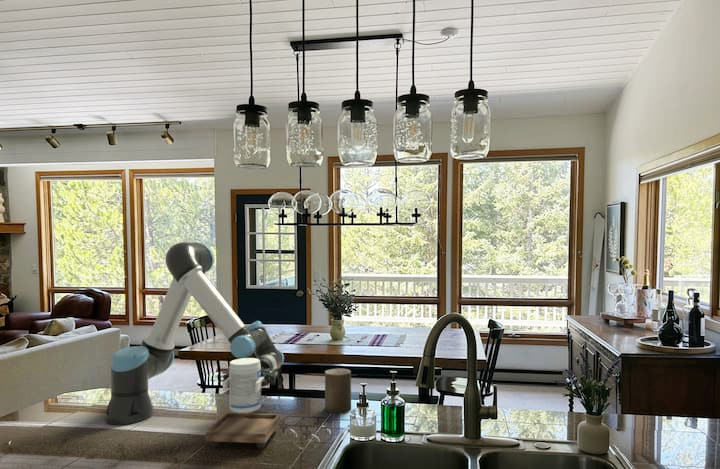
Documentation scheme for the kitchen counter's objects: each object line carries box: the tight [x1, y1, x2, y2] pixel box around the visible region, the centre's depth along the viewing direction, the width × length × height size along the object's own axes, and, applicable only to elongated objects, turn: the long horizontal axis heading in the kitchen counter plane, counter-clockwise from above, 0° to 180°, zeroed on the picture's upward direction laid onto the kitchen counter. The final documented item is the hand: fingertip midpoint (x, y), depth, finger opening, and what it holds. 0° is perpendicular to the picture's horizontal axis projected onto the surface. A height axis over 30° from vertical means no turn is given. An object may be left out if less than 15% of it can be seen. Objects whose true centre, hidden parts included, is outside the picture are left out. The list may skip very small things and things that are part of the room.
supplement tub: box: [228, 357, 262, 413], centre depth 141 cm, size 10×10×15 cm
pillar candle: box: [324, 368, 352, 414], centre depth 167 cm, size 10×10×15 cm
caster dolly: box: [205, 412, 281, 450], centre depth 140 cm, size 18×16×5 cm
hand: (240, 386), depth 137 cm, fingers closed on supplement tub, 9 cm apart
